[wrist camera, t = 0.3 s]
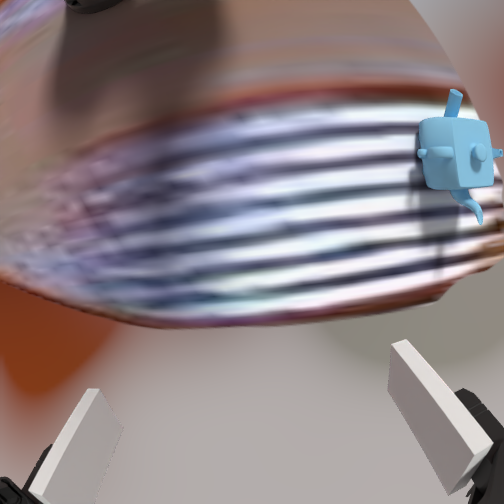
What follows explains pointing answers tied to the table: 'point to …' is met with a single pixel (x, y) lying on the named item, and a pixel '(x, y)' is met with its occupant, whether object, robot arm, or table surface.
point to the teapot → (457, 154)
